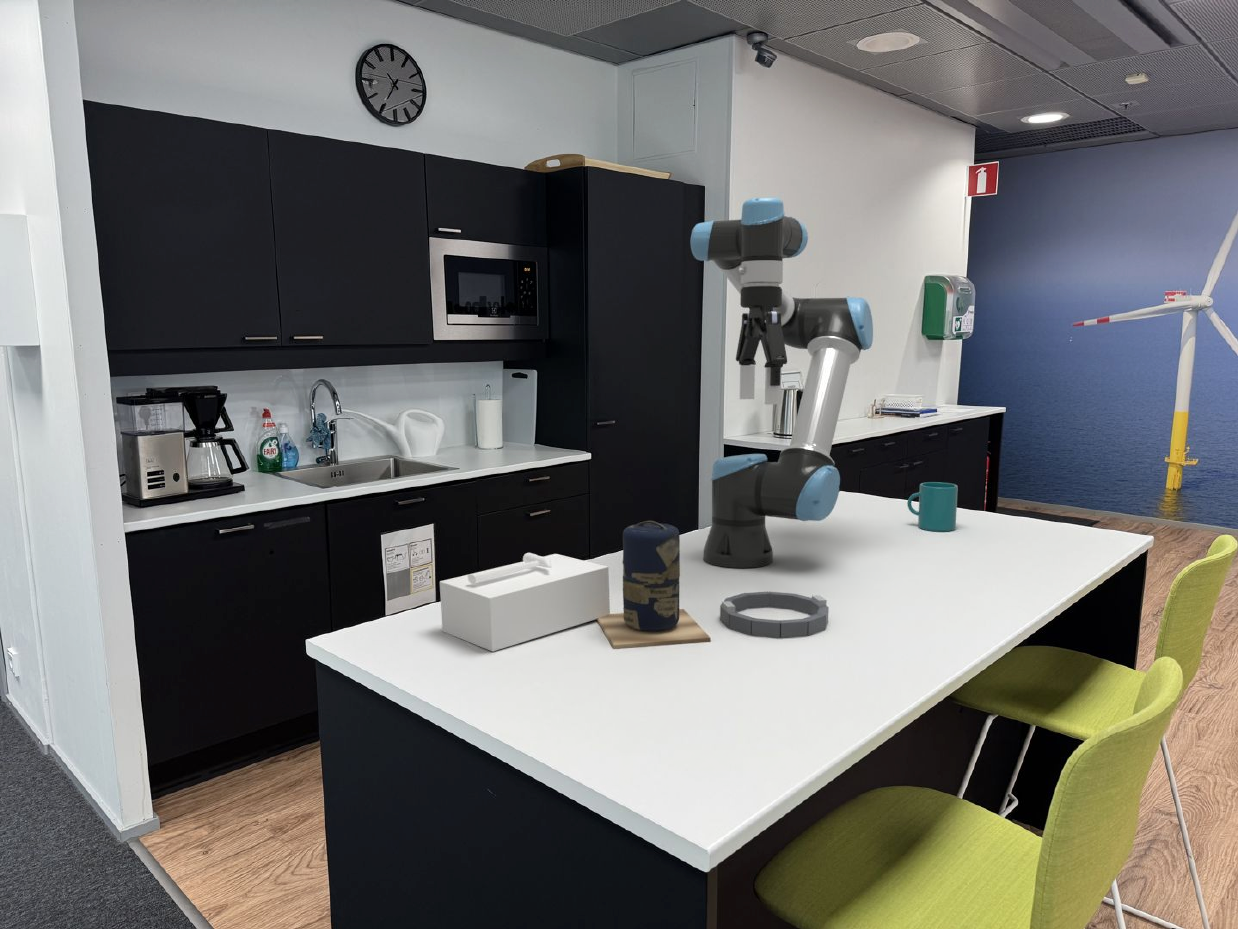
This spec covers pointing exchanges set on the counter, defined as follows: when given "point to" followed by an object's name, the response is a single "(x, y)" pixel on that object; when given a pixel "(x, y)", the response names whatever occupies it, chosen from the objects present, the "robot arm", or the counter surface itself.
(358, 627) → the counter surface
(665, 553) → the canister
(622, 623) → the mat
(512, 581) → the tissue box
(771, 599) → the collar
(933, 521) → the cup
